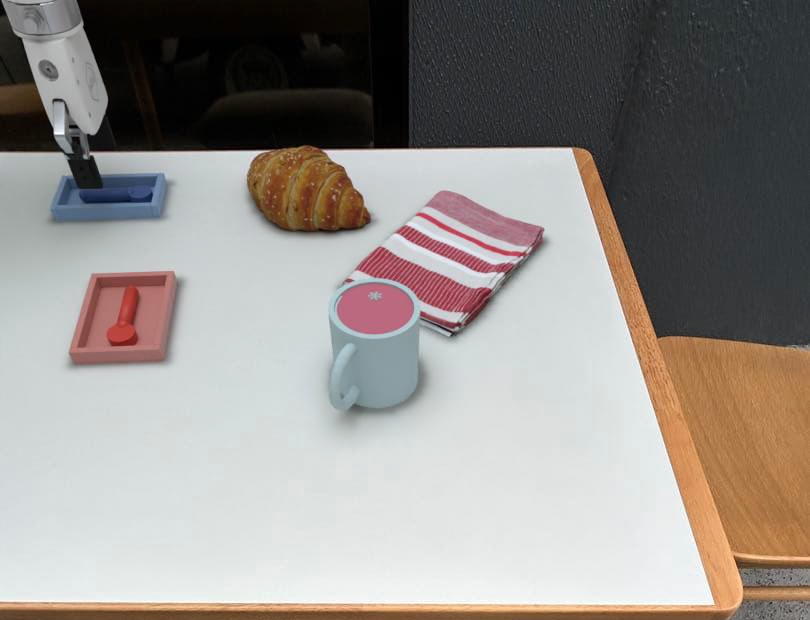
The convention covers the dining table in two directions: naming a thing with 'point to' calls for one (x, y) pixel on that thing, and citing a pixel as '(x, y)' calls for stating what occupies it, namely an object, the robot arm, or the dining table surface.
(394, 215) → the dining table surface
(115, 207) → the blue tray
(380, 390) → the mug
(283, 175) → the pastry
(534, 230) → the dish towel
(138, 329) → the rose tray
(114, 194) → the blue spoon
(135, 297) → the red spoon
